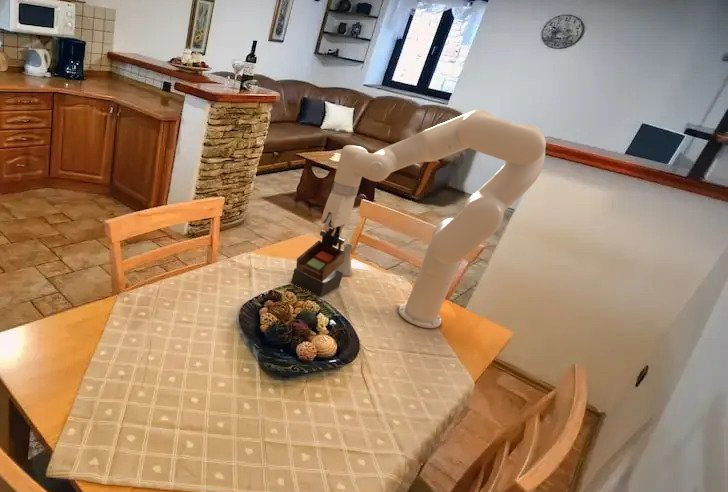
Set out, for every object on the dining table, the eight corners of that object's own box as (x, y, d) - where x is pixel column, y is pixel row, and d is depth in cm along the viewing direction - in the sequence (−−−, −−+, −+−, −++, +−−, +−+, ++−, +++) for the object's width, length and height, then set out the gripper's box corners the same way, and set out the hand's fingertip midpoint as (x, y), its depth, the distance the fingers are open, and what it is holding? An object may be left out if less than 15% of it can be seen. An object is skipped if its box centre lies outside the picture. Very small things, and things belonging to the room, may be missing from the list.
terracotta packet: (321, 254, 161) (321, 250, 159) (334, 260, 158) (334, 256, 157) (315, 259, 159) (315, 255, 158) (328, 265, 156) (328, 261, 155)
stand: (310, 273, 168) (314, 259, 166) (339, 286, 162) (343, 273, 160) (290, 282, 160) (294, 268, 157) (319, 297, 154) (323, 283, 152)
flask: (350, 268, 176) (358, 243, 172) (352, 278, 170) (360, 251, 165) (329, 265, 176) (337, 239, 172) (331, 274, 170) (339, 247, 165)
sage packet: (312, 261, 158) (312, 257, 157) (325, 267, 155) (325, 263, 154) (306, 267, 156) (306, 263, 155) (319, 273, 154) (319, 269, 153)
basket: (318, 250, 164) (320, 228, 158) (344, 261, 158) (347, 240, 153) (296, 269, 157) (297, 247, 151) (321, 282, 152) (324, 260, 146)
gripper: (347, 181, 156) (332, 236, 164) (320, 188, 144) (305, 246, 153) (368, 189, 151) (352, 244, 160) (342, 196, 140) (326, 255, 149)
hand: (329, 245), depth 157 cm, fingers closed, pressing on basket
